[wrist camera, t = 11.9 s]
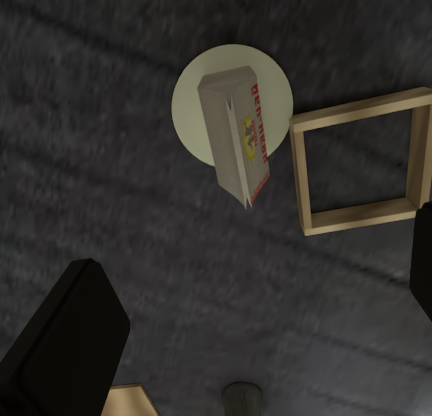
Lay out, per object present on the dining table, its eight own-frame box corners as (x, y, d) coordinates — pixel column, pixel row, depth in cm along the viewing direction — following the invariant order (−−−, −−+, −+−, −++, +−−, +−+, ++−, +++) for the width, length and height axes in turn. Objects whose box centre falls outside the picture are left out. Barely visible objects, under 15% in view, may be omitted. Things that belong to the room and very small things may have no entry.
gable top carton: (220, 155, 28) (217, 213, 19) (203, 75, 24) (190, 101, 16) (261, 147, 27) (278, 203, 18) (249, 65, 24) (263, 85, 15)
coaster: (283, 29, 23) (285, 29, 23) (296, 153, 28) (298, 156, 27) (157, 61, 25) (155, 62, 24) (190, 174, 29) (189, 178, 29)
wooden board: (140, 383, 47) (140, 386, 46) (170, 432, 54) (169, 435, 54) (40, 394, 49) (38, 397, 49) (81, 440, 56) (80, 443, 56)
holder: (423, 86, 25) (441, 92, 23) (412, 202, 30) (426, 215, 28) (287, 116, 27) (293, 124, 24) (299, 221, 32) (305, 235, 30)
